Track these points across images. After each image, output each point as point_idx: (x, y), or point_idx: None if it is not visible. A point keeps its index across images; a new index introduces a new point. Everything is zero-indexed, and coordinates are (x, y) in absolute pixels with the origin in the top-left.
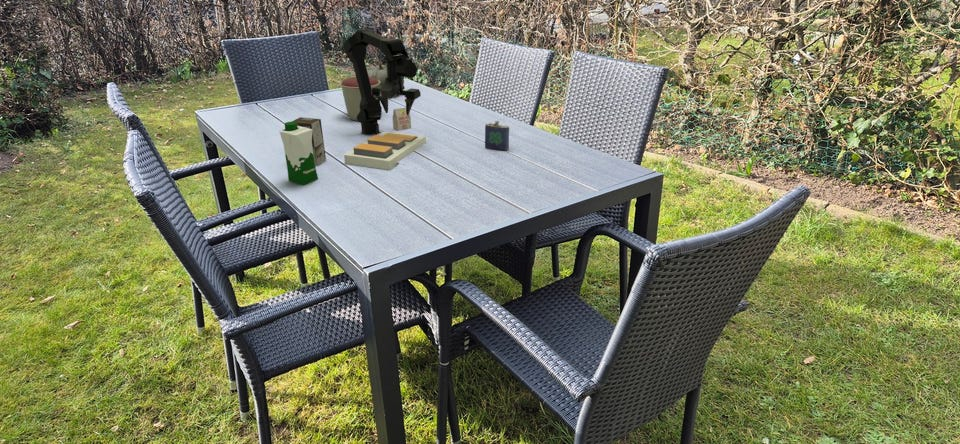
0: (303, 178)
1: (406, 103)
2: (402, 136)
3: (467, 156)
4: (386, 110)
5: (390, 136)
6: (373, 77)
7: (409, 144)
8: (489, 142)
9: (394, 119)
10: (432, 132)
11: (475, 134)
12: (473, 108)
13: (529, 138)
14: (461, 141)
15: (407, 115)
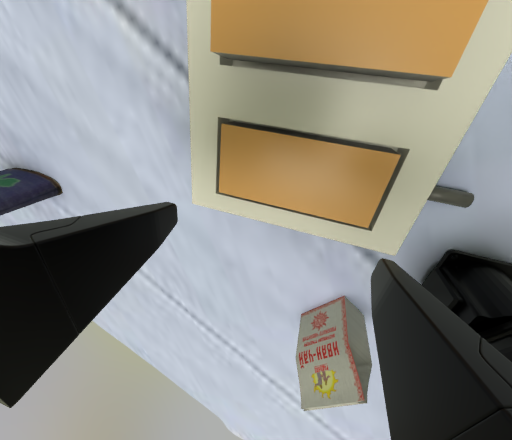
0: None
1: (24, 241)
2: (277, 181)
3: (45, 96)
4: (387, 277)
5: (340, 172)
6: None
7: (208, 73)
8: (23, 182)
9: (360, 350)
10: (234, 296)
11: (133, 278)
12: (212, 408)
13: None
14: None
15: (171, 204)
